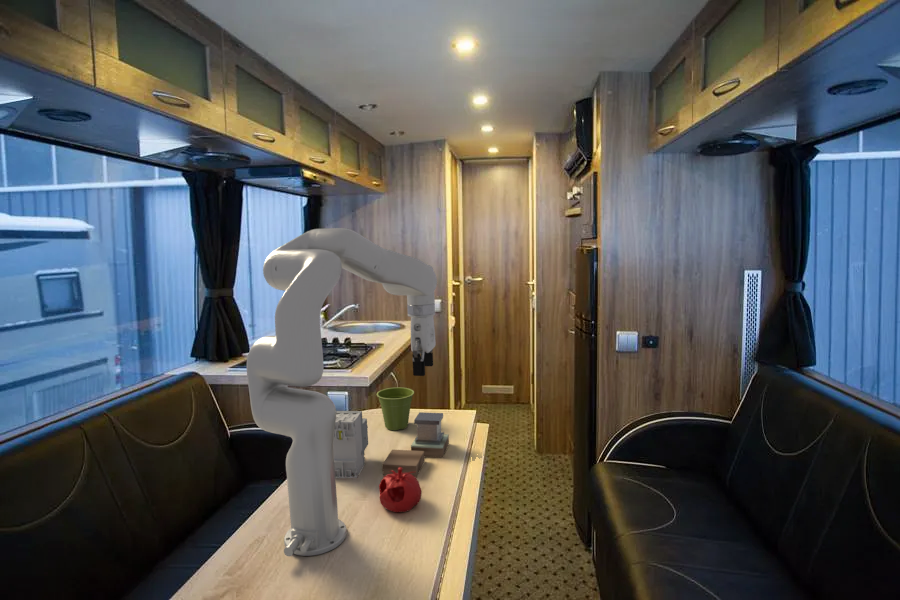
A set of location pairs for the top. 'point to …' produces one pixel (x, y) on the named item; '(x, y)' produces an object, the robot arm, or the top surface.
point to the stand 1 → (404, 462)
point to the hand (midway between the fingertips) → (423, 370)
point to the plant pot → (395, 406)
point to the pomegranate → (399, 491)
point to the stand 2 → (432, 448)
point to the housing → (429, 428)
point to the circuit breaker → (349, 443)
